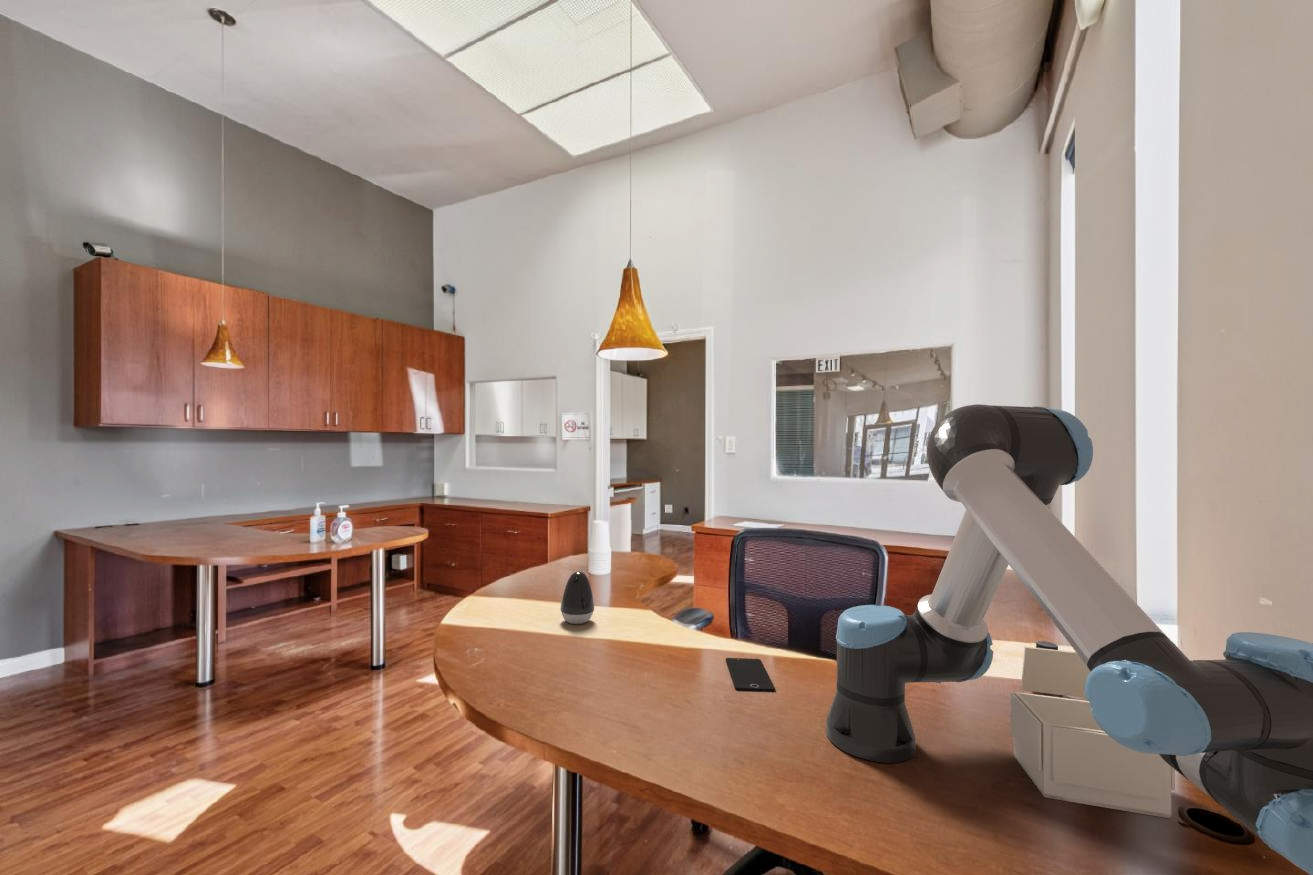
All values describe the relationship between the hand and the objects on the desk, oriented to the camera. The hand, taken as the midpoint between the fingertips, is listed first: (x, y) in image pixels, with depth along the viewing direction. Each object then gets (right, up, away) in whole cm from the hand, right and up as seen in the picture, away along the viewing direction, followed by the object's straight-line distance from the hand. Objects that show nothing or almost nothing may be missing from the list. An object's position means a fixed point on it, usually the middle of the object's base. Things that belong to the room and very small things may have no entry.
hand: (1099, 677), depth 82 cm
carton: (+1, -19, +3) cm, 19 cm away
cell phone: (-47, -20, +44) cm, 67 cm away
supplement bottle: (+19, -21, +37) cm, 46 cm away
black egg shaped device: (-93, -19, +80) cm, 124 cm away
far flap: (+2, -3, +8) cm, 9 cm away
